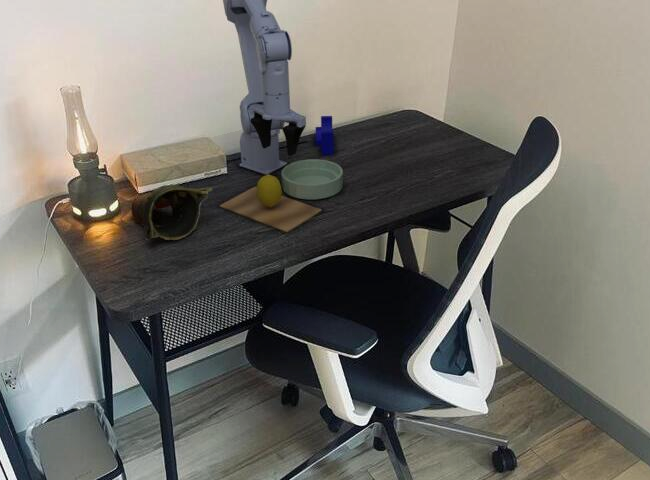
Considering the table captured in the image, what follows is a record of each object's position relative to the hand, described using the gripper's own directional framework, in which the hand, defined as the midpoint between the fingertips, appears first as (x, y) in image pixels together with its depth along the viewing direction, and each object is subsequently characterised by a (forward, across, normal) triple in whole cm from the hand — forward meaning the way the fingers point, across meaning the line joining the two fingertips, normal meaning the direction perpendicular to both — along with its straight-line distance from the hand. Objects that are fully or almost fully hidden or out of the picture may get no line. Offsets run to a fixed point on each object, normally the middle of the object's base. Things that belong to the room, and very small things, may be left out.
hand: (279, 150), depth 151 cm
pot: (+10, -7, -28) cm, 31 cm away
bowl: (+10, +5, +6) cm, 12 cm away
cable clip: (+10, -8, +27) cm, 30 cm away
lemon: (+10, +4, -8) cm, 14 cm away
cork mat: (+10, +4, -8) cm, 14 cm away
